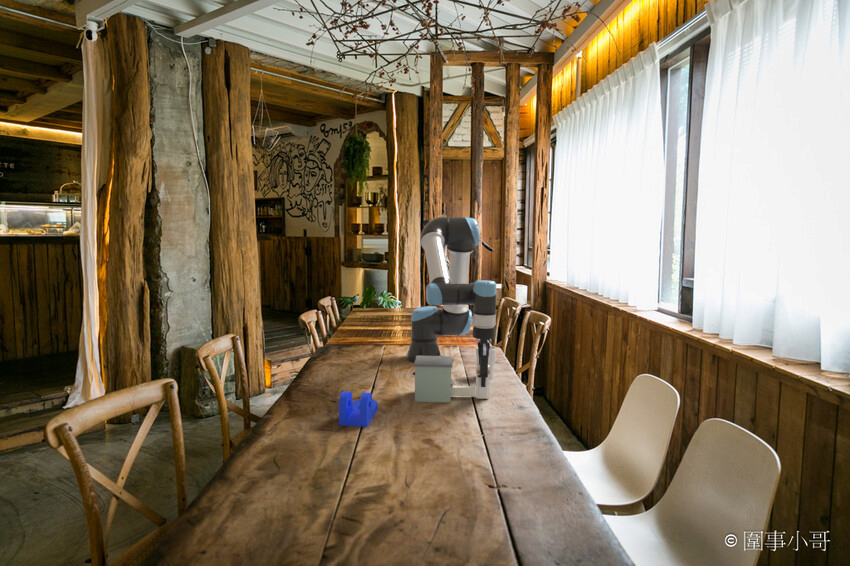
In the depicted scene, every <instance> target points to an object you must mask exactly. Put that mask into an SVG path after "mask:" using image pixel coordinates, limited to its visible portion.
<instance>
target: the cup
mask: <svg viewBox="0 0 850 566" xmlns="http://www.w3.org/2000/svg"><path fill="white" fill-rule="evenodd" d="M475 353H476V364H478V365H479V354H478V345H477V346H476V347H475ZM496 354H497V347H496V346H495V345H494V346H493V345H490V349H489V357H488V365H489V366H490V380H491V381H492V380H493V379H494V375H495V365H496V356H497V355H496ZM490 380H489V381H490Z"/></svg>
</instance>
